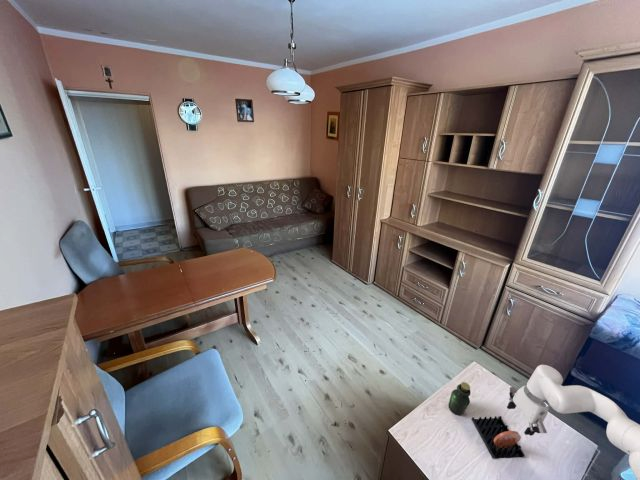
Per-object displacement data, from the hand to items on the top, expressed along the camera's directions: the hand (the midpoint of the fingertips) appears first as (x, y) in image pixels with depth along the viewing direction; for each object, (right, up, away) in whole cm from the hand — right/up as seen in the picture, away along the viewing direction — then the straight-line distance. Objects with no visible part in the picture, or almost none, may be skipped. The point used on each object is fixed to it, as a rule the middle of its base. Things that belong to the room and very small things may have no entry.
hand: (518, 420), depth 106 cm
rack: (-1, -17, +13) cm, 21 cm away
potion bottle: (-13, -11, +24) cm, 30 cm away
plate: (0, -18, +9) cm, 20 cm away
